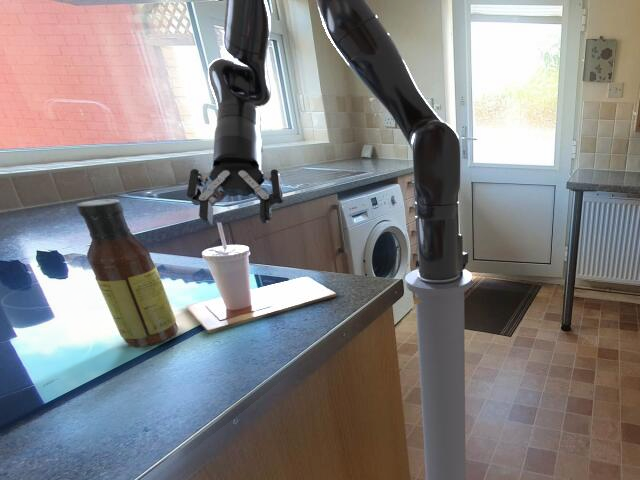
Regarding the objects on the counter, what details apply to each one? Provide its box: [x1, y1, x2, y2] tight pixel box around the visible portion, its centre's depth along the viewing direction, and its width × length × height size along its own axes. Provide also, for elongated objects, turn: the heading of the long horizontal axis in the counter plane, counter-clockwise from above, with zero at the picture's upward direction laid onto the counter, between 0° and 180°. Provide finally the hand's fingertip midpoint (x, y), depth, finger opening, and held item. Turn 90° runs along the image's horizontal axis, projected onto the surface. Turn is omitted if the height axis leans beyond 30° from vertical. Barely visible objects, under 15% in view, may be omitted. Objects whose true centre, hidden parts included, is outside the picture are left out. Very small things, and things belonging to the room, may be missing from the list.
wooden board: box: [185, 276, 338, 334], centre depth 71 cm, size 20×12×1 cm, turn 139°
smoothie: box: [201, 221, 252, 310], centre depth 66 cm, size 6×6×14 cm
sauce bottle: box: [76, 198, 179, 348], centre depth 55 cm, size 7×6×20 cm
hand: (236, 222), depth 71 cm, fingers open, 8 cm apart
